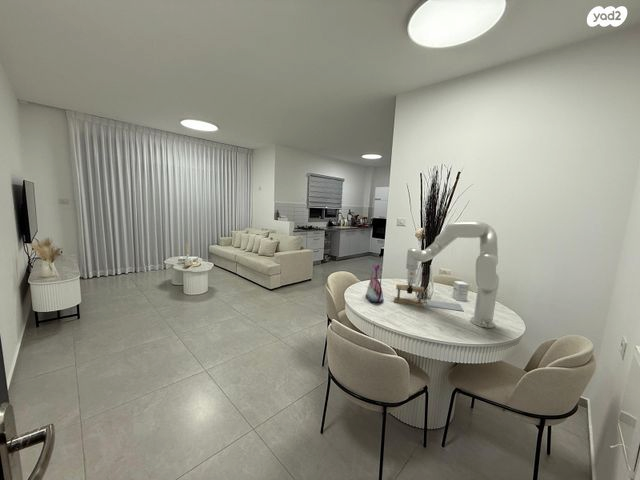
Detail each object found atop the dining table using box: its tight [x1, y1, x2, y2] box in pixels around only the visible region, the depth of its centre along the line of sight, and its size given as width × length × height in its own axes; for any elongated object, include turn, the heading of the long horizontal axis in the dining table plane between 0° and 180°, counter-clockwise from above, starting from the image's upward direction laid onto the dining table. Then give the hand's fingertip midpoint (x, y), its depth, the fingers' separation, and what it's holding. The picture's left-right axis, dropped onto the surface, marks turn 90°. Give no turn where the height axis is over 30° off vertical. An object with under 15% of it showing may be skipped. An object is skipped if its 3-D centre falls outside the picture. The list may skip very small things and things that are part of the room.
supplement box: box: [451, 280, 470, 302], centre depth 195 cm, size 7×7×13 cm
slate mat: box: [425, 299, 465, 312], centre depth 182 cm, size 12×22×1 cm, turn 73°
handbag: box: [365, 264, 385, 303], centre depth 187 cm, size 21×10×25 cm, turn 7°
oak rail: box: [395, 283, 425, 294], centre depth 184 cm, size 3×18×3 cm, turn 73°
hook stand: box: [393, 287, 425, 308], centre depth 185 cm, size 10×19×10 cm, turn 73°
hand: (409, 292), depth 185 cm, fingers open, 3 cm apart
